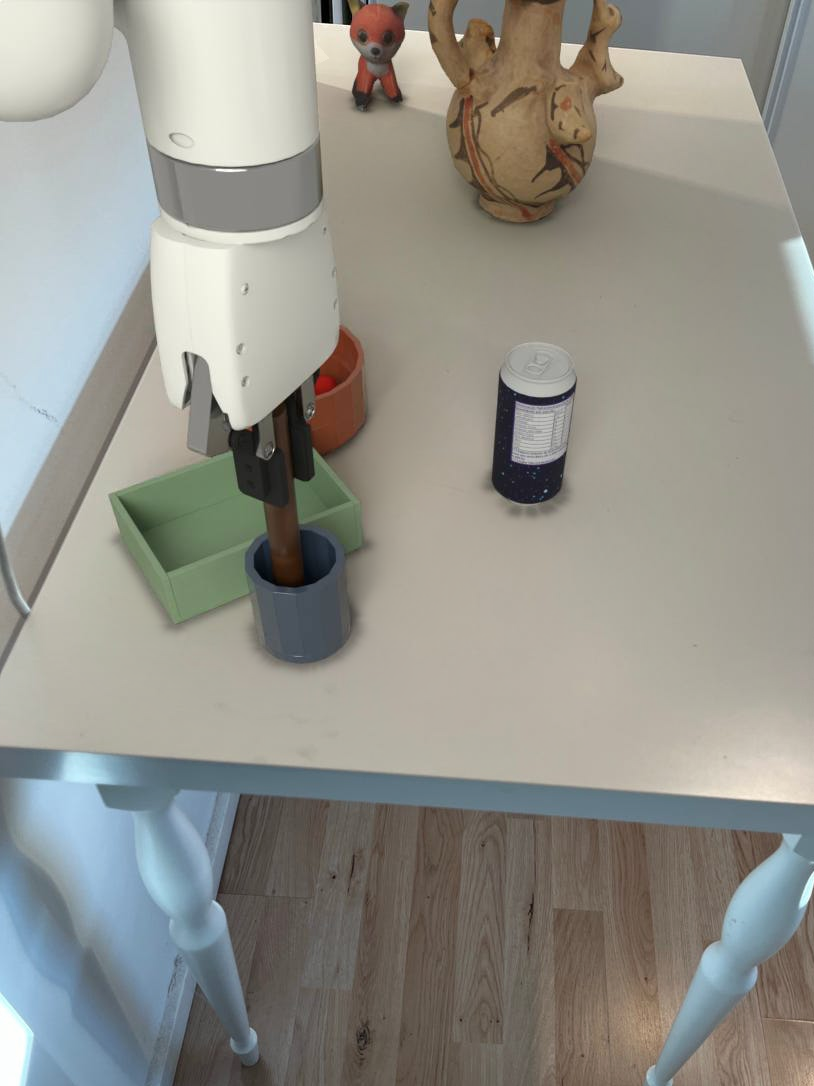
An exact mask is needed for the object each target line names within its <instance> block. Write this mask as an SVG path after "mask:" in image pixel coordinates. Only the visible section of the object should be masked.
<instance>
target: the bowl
mask: <svg viewBox="0 0 814 1086" xmlns="http://www.w3.org/2000/svg"><path fill="white" fill-rule="evenodd" d="M365 359H366V358H365V352H364V349H363V346H362V344H361V341H360V339H359V338H358V337H356V336H355V334H353V332H351V331H350V330H349V328H348V327H345V326H343V325H341V324H339V339H338V343H337V346H336V348H335V350H334V351H333V353H332V354H331V356H330V357H329V358H328V359H327V360H326V361H325V362H324V363H323V364H322V365H321V367H320V372H319V374H320V375H319V377H320V376H323V375H327V376H330V377H332V378H333V379H334V380H335V382H336V384H337V387H335V388H334V389H332V390H331V391H329V392H326V393H323V394H320V395H318V396H317V395H316V393H315V404H316V409H315V413H314V415H313V417H312V419H311V420H309V421H306V423H307V424H310V425H311V434H312V446H313V448H314V449H315V450H316V451H317V452H318V454H319V455H320V456H321V457H322V456H324V455H326V454H329V453H331V452H333V451H334V450H336V449H338V448H340V447H341V446H342V445H344V444H346V442H347V441H348V440H350V439H351V438H352V437H354V436H355V435H356V434H357V432H358V431H359V430H360V428H361V426H363V424H364V423H365V420H366V414H367V410H368V397H367V396H368V395H367V379H366V378H367V377H366V360H365ZM314 392H315V391H314ZM246 429H247V430H250V431H252V426H251V427H249V428H246Z"/></svg>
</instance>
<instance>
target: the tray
mask: <svg viewBox="0 0 814 1086" xmlns="http://www.w3.org/2000/svg"><path fill="white" fill-rule="evenodd" d="M313 458H314V469H315V475H314V477H313V478H312V479H311V480H310V481H309V482H306V481H305V482H303V481H301V480H298V479H295V478H294V482H295V492H296V501H297V510H298V520H299V524H308V525H315V526H318V527H320V528H323V529H325V530H327V531H329V532H331V533H333V534H334V535H335V536H336V537H337V539H338V540H339V541H340V542H341V544H342V545H343V546H344V551H345V555H346V554H349V553H351V552H354V551H355V550H358V549H360V548H363V546H364V543H363V542H364V541H363V540H364V539H363V527H362V526H363V525H362V512H361V501H360V500H359V499H358V498H357V496H356V495H355V494H354V493H353V492H352V491H351V490H350V488H349V487H348V486H347V485H346V484H345V483H344V481H343V480H342V479H341V478H340V477H339V476H338V474H337V473H336V472H335V471H334V470H333V469H332V468H331V465H329V464H328V463H327V462H326V460H325V459H324V458H323V457H322V455H321V456H320V455H319V454H318V452H317V451H316V450H315V449H314V448H313ZM107 497H108V499H109V502H110V506H111V508H112V511H113V514H114V517H115V521H116V523H117V527H118V529H119V532H120V536H121V539H122V541H123V542H124V544H125V546H126V547H127V549H128V550H129V553H130V554H131V556H132V558H133V559H134V561H135V562H136V564H137V565H138V567H139V568H140V570H141V572H142V573H143V575H144V576H145V578H146V580H147V582H148V583H149V585H150V586H151V587H152V590H153V592H154V593H155V595H156V596H157V599H159V601H160V603H161V604H162V606H163V607H164V609H165V611H166V612H167V614H168V616H169V617H170V619H171V620H172V622H173V624H174V625H178V624H179V623H182V622H184V621H187V620H190V619H191V618H194V617H196V616H197V617H198V616H199V615H202V614H204V613H206V612H209V611H211V610H214V609H216V608H218V607H220V606H223V605H226V604H228V603H231V602H233V601H236V600H237V599H240V598H242V597H245V596H247V595H250V594H249V589H248V584H247V579H246V574H245V552H246V551H247V550H248V548H249V547H250V545H251V544H252V542H253V541H254V539H255V538H257V537H258V536H260V535H262V534H263V533H265V532H267V528H266V521H265V513H264V506H263V502H262V501H260V500H257V499H255V498H252V497H250V496H247V495H245V494H243V493H242V492H241V491H240V490H239V488H238V482H237V476H236V470H235V464H234V458H233V452H232V450H229V451H228V452H226V453H223V454H220V455H217V456H214V457H209V458H207V459H205V460H202V461H199V462H195V463H193V464H190V465H187V466H185V467H182V468H179V469H176V470H173V471H171V472H167V473H165V474H164V473H163V474H162V475H159V476H156V477H153V478H151V479H148V480H144V481H142V482H139V483H136V484H133V485H130V486H127V487H125V488H122V489H119V490H116V491H113V492H110V493H108V494H107Z"/></svg>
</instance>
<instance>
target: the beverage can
mask: <svg viewBox="0 0 814 1086" xmlns="http://www.w3.org/2000/svg"><path fill="white" fill-rule="evenodd" d="M576 373H577V372H576V371H575V368H574V359H573V358H572V356H571V354H570V353H569V352H568V351H566V350H565V349H564V348H562V347H560V346H558V345H556V344H552V343H549V342H544V341H542V342H541V341H529V342H524V343H520V344H518V345H516V346H514V347H512V348H510V350H508V352H507V354H506V356H505V360H504V363H503V364H502V365H501V367H500V369H499V371H498V383H497V398H496V400H497V401H496V409H495V410H496V411H495V412H496V414H495V424H494V425H495V427H494V439H493V440H494V441H493V454H492V455H493V456H492V468H491V483H492V486H493V488H494V490H495V491H496V492H497V493H498V494H500V495H501V496H502V497H503V498H505V499H506V500H507V501H509V502H511V504H515V505H518V506H523V507H533V506H537V505H541V504H544V503H545V502H547V501H549V500H551V499H553V498H555V497H556V496H557V495H558V494H559V493H560V491H561V490H562V487H563V481H564V473H565V466H566V461H567V452H568V446H569V437H570V432H571V424H572V418H573V411H574V405H575V404H574V403H575V396H576V389H577V382H578V377H577V374H576Z"/></svg>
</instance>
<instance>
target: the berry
mask: <svg viewBox="0 0 814 1086" xmlns="http://www.w3.org/2000/svg"><path fill="white" fill-rule="evenodd" d="M335 387H337V384H336V382H335V380H334V379H333V378H332V377H330V376H327V375H323V376H320V377H318V378H317V381H316V384H315V387H314V391H315V393H316V395H317V396H318V395H320V394H323V393H326V392H329V391H331V390H332V389H334V388H335Z"/></svg>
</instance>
